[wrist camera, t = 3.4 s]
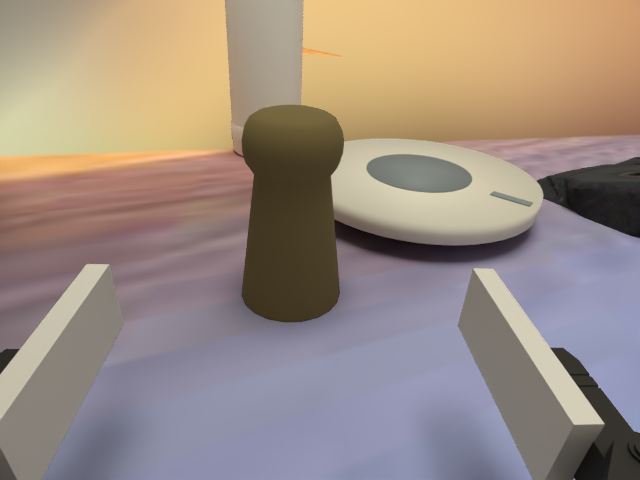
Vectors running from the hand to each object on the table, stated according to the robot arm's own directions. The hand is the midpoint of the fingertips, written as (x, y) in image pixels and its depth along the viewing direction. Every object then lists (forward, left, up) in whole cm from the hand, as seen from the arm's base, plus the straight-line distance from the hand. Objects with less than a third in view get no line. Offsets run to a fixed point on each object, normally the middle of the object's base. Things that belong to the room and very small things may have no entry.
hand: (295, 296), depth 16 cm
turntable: (-7, +23, -5) cm, 25 cm away
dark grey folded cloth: (+9, +42, -7) cm, 43 cm away
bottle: (-27, +24, -6) cm, 37 cm away
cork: (-6, +6, -6) cm, 11 cm away
